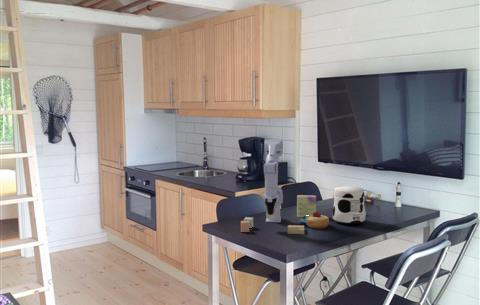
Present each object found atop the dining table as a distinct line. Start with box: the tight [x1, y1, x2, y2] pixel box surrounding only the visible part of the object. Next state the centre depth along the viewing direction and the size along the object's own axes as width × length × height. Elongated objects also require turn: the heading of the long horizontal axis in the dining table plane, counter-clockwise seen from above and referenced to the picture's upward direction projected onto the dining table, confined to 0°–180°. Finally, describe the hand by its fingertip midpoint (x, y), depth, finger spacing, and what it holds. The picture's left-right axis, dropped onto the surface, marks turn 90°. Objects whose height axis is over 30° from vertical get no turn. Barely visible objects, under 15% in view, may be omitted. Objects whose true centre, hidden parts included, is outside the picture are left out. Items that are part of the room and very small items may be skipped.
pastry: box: [305, 209, 330, 230], centre depth 227 cm, size 12×12×9 cm
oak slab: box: [287, 224, 305, 235], centre depth 218 cm, size 8×8×2 cm
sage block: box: [243, 216, 254, 229], centre depth 225 cm, size 4×4×5 cm
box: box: [296, 194, 317, 218], centre depth 248 cm, size 10×6×12 cm, turn 84°
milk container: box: [331, 185, 367, 225], centre depth 234 cm, size 17×17×18 cm
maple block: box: [265, 206, 275, 219], centre depth 220 cm, size 4×4×5 cm
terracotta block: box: [240, 220, 250, 233], centre depth 218 cm, size 4×4×5 cm
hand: (270, 213), depth 220 cm, fingers closed on maple block, 4 cm apart
